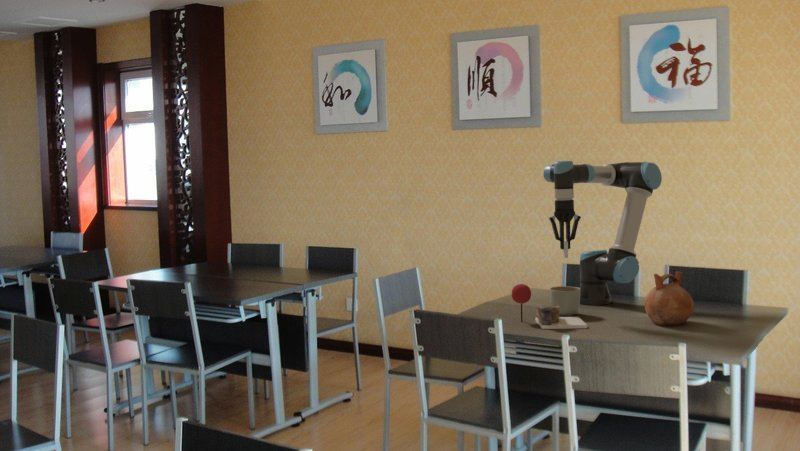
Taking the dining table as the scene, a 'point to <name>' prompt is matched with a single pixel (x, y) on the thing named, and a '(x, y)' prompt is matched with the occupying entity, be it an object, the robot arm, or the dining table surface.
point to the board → (564, 323)
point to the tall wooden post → (544, 316)
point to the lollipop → (521, 294)
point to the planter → (566, 299)
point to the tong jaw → (552, 312)
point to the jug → (669, 301)
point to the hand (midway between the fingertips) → (565, 257)
